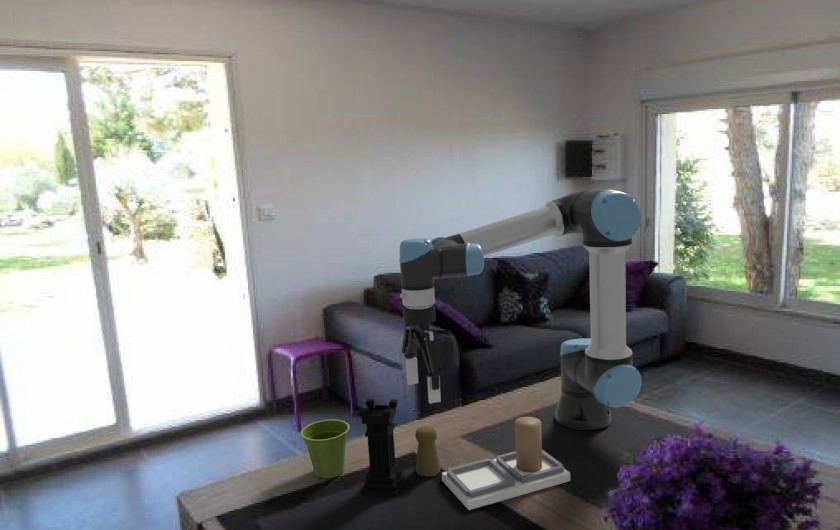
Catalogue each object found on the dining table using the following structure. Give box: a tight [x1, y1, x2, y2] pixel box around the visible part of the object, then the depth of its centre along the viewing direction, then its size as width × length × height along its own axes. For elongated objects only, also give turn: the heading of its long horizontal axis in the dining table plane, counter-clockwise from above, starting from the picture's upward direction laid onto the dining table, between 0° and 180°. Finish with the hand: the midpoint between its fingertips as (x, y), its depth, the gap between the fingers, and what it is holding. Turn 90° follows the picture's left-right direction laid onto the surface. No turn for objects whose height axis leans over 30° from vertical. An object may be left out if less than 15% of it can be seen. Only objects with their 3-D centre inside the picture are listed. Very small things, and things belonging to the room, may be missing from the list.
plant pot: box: [300, 418, 351, 480], centre depth 150 cm, size 12×12×11 cm
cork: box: [415, 425, 441, 478], centre depth 148 cm, size 6×6×11 cm
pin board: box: [441, 416, 571, 511], centre depth 141 cm, size 26×14×13 cm, turn 112°
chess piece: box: [358, 398, 406, 497], centre depth 141 cm, size 8×8×20 cm
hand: (423, 392), depth 146 cm, fingers open, 13 cm apart
